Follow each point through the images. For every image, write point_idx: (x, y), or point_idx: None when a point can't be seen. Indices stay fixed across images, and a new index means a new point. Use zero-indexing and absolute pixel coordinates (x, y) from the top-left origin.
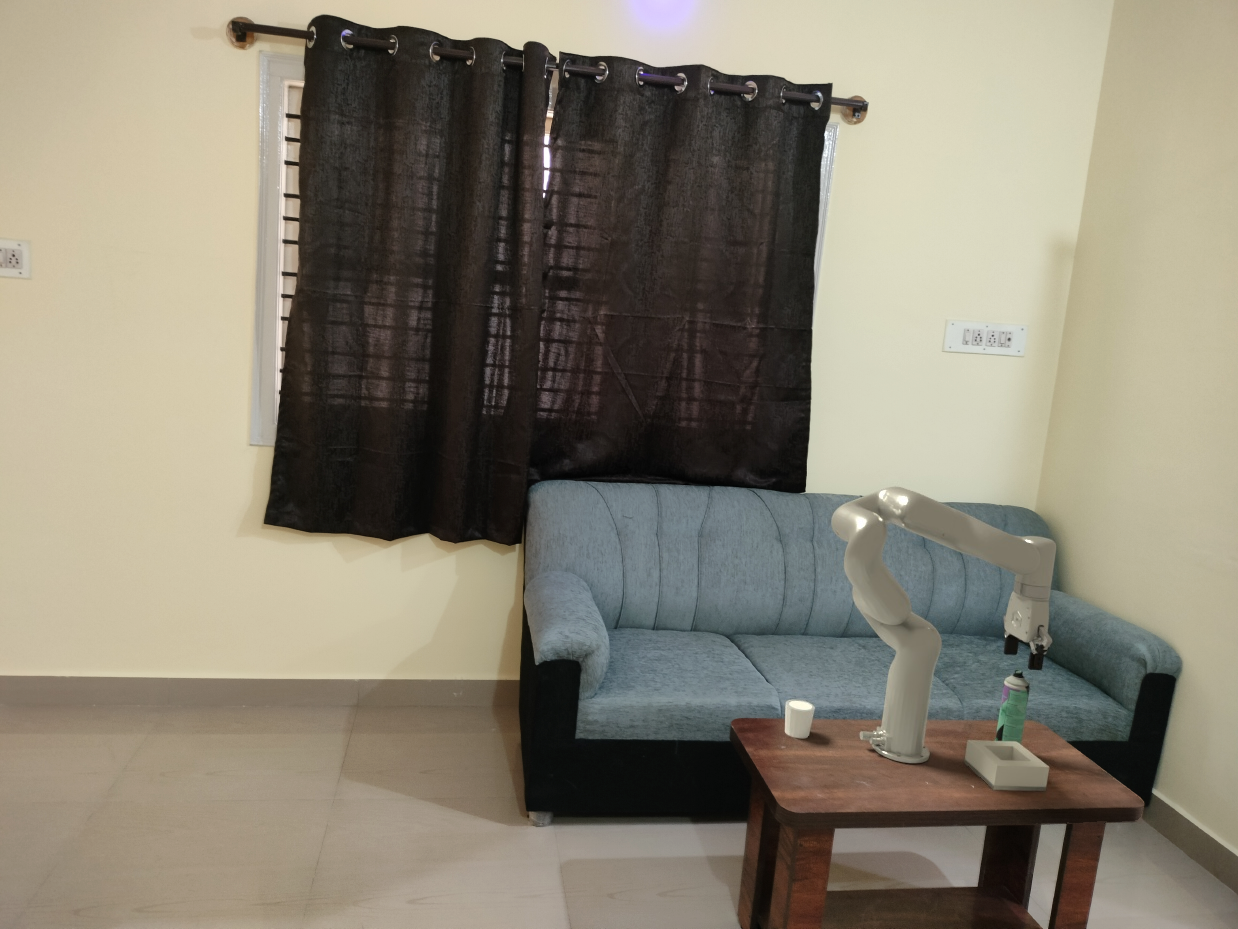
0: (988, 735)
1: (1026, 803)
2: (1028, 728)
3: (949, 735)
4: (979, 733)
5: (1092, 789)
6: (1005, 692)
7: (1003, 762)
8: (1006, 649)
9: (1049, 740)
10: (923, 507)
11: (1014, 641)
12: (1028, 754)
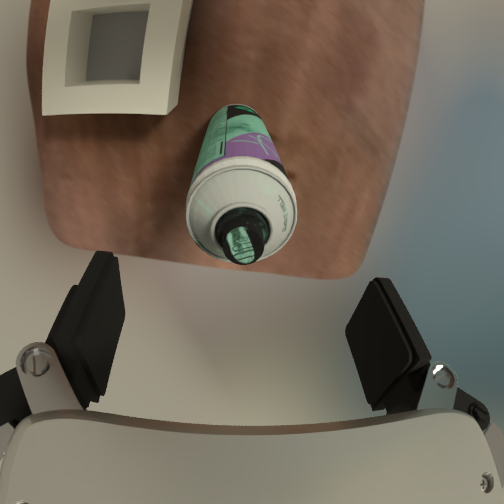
0: (322, 151)
1: (34, 41)
2: (328, 260)
3: (339, 54)
4: (335, 137)
5: (84, 203)
6: (243, 146)
7: (62, 11)
8: (383, 302)
9: (276, 263)
10: None
11: (379, 379)
12: (95, 100)
